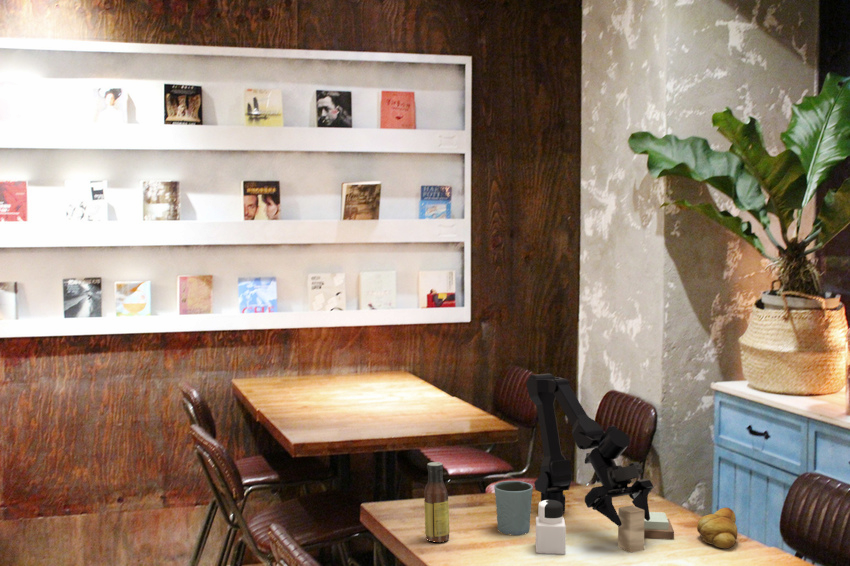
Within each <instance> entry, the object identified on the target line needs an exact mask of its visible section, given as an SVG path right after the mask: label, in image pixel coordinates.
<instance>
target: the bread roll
mask: <svg viewBox="0 0 850 566" xmlns="http://www.w3.org/2000/svg"><path fill="white" fill-rule="evenodd" d="M736 518H737V517H736V513H735V512H734V510H733V509H731V508H730V507H723V508H719V509H718V510H717V511H715V512H714V513H709V514H707V515H703V516H702V517H700V518H699V521H698V522H697V526H696V529H697V532H698V534H699V535H700V536H701V538H702V539H703V541H704V542H705V543H708V544H710V543H711V544H712V545H714V546H715V547H717V548H720V549H721V548H722V549H729V548H731V547H733V546H734V545H735V542H736V540H737V539H738V527H737V524H736V521H737V519H736ZM711 544H710V545H711Z"/></svg>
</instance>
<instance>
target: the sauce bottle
mask: <svg viewBox="0 0 850 566" xmlns="http://www.w3.org/2000/svg"><path fill="white" fill-rule="evenodd" d="M426 468H427V471H428V473H427V476H428V477H427V480H428V481H427V483H426V484H425V487H424V493H423V494H424V500H423V501H424V504H423V505H424V531H425V532H424V534H425V538H427V539H428V540H430V541H435V542H442V543H444V542H443V541H446V542H447V541H449V539H450V511H449V509H450V508H449V507H450V506H449V495H448V490H447V489H448V488H446V485H445V483H444V477H443V476H444V475H443V469H444V464H443V463H442V462H440V461H431V462H428V463H427V465H426ZM427 539H426V540H427ZM428 540H427V541H428Z"/></svg>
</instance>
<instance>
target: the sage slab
mask: <svg viewBox="0 0 850 566" xmlns="http://www.w3.org/2000/svg"><path fill="white" fill-rule="evenodd" d="M649 514H650V520H649V521H647V520H646V519H645V518H644V529H658V530H669V522H668V519H669V518H668V517H667V515H666V513H665V512H662V511H660V512H659V511H649Z"/></svg>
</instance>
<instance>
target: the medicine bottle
mask: <svg viewBox="0 0 850 566" xmlns="http://www.w3.org/2000/svg"><path fill="white" fill-rule="evenodd" d="M537 509H538V511H537V512H538V516H535V551H536V554H544V555H545V554H546V555H547V554H548V555H565V554H566V545H567V543H566V541H567V540H566V537H567V535H566V534H567V533H566V529H567V527H566V523H565V522H566V521H565V518H564V517H563V516H564V511H563V505H562V503H561V502H559V501H556V500H544V501H541V500H540V501H539V503H538V508H537Z"/></svg>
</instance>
